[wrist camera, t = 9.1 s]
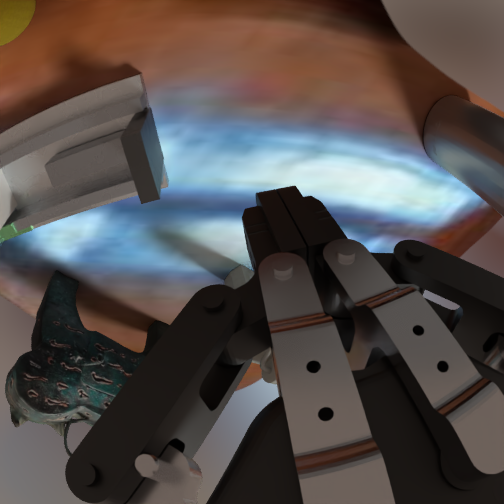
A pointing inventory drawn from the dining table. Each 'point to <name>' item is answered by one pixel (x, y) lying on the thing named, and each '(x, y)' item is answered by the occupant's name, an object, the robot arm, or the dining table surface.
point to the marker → (5, 200)
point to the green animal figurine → (69, 365)
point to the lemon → (14, 18)
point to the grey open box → (60, 140)
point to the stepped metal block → (117, 157)
